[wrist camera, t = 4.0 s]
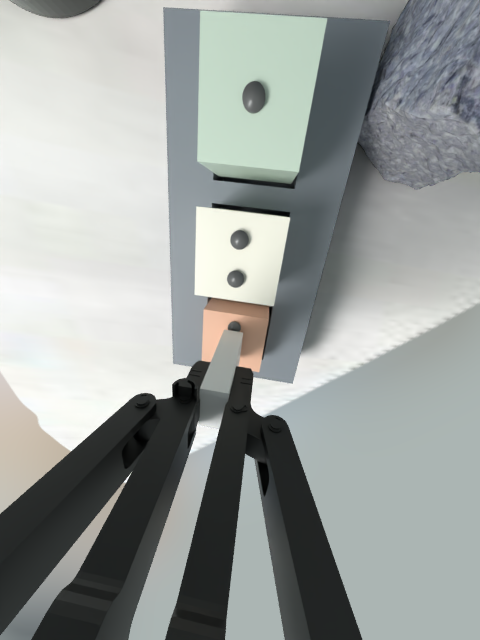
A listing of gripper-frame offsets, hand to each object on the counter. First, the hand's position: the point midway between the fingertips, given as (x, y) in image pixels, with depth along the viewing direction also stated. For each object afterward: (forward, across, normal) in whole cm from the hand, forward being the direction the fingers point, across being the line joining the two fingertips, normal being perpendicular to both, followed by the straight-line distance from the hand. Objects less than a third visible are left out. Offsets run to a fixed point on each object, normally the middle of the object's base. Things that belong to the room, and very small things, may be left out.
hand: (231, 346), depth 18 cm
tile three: (+5, 0, 0) cm, 5 cm away
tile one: (+3, 0, +14) cm, 14 cm away
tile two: (+3, 0, +7) cm, 8 cm away
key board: (+7, 0, +7) cm, 10 cm away
